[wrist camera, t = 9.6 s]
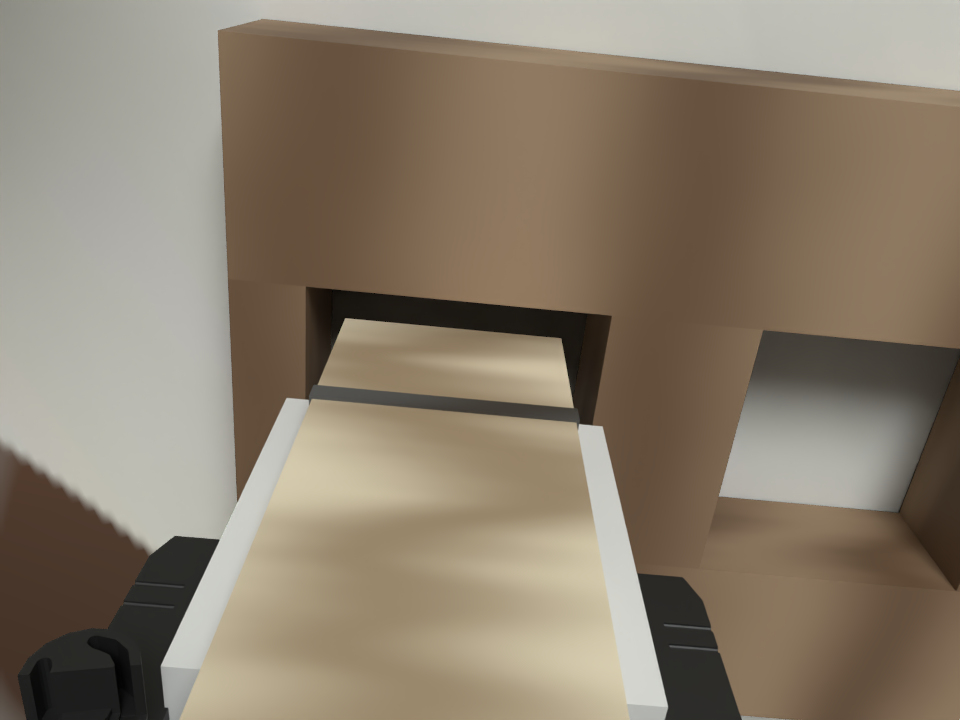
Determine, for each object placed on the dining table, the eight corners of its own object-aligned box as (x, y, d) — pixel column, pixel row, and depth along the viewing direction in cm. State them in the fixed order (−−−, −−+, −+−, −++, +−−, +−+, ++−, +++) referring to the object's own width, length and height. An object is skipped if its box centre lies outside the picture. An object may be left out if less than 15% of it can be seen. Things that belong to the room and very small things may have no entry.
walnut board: (1129, 108, 17) (1248, 136, 14) (900, 644, 24) (952, 732, 21) (263, 19, 17) (217, 30, 14) (273, 590, 23) (244, 673, 21)
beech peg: (564, 336, 17) (692, 1017, 6) (536, 516, 19) (594, 1271, 8) (342, 315, 17) (64, 971, 6) (338, 498, 19) (124, 1243, 8)
